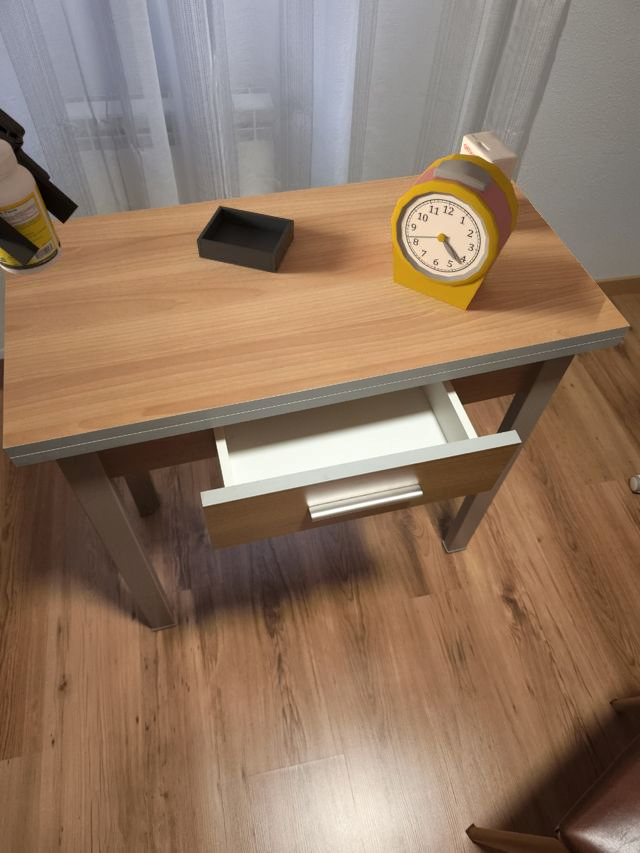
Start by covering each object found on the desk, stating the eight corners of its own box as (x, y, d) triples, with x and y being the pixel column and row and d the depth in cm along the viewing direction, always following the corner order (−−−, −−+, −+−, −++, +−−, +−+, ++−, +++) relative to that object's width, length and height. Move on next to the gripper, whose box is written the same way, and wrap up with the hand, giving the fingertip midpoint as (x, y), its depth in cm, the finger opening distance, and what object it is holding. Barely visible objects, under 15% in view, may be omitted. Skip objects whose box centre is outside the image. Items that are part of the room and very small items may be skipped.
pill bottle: (10, 238, 59) (-41, 131, 50) (70, 239, 59) (30, 133, 50) (-10, 277, 55) (-70, 169, 46) (54, 278, 56) (7, 172, 47)
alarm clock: (380, 280, 84) (398, 160, 69) (404, 251, 88) (425, 132, 73) (474, 317, 80) (515, 199, 65) (494, 285, 84) (536, 166, 69)
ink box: (498, 226, 93) (521, 156, 83) (471, 232, 92) (491, 162, 82) (472, 197, 97) (491, 128, 88) (446, 203, 96) (462, 133, 87)
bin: (199, 257, 86) (196, 239, 83) (221, 222, 91) (219, 205, 89) (275, 273, 84) (275, 256, 82) (294, 237, 89) (294, 219, 87)
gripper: (-135, 2, 51) (86, 200, 62) (-331, 98, 40) (-21, 317, 51) (-119, -67, 46) (117, 162, 57) (-339, 21, 35) (6, 283, 46)
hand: (51, 235), depth 54 cm, fingers closed on pill bottle, 6 cm apart
